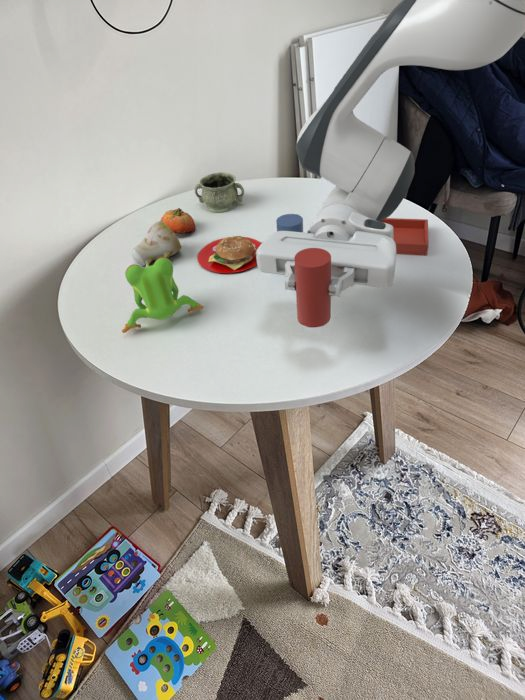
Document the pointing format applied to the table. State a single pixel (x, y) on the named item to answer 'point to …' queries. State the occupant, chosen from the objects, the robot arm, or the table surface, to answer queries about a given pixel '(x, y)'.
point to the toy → (155, 292)
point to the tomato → (178, 221)
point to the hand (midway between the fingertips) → (311, 289)
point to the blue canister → (290, 223)
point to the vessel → (219, 192)
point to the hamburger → (229, 254)
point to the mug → (156, 244)
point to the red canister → (313, 286)
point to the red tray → (409, 235)
